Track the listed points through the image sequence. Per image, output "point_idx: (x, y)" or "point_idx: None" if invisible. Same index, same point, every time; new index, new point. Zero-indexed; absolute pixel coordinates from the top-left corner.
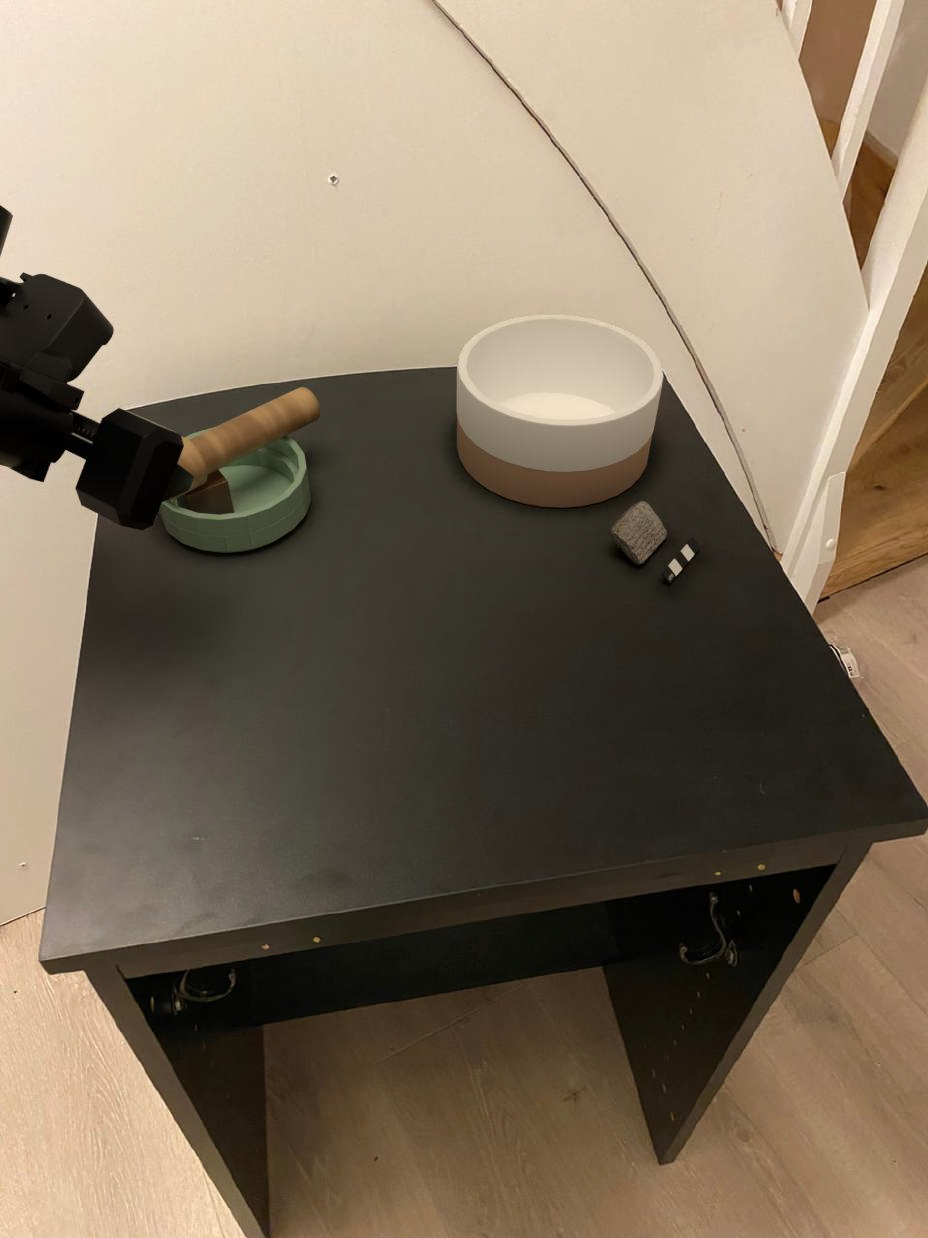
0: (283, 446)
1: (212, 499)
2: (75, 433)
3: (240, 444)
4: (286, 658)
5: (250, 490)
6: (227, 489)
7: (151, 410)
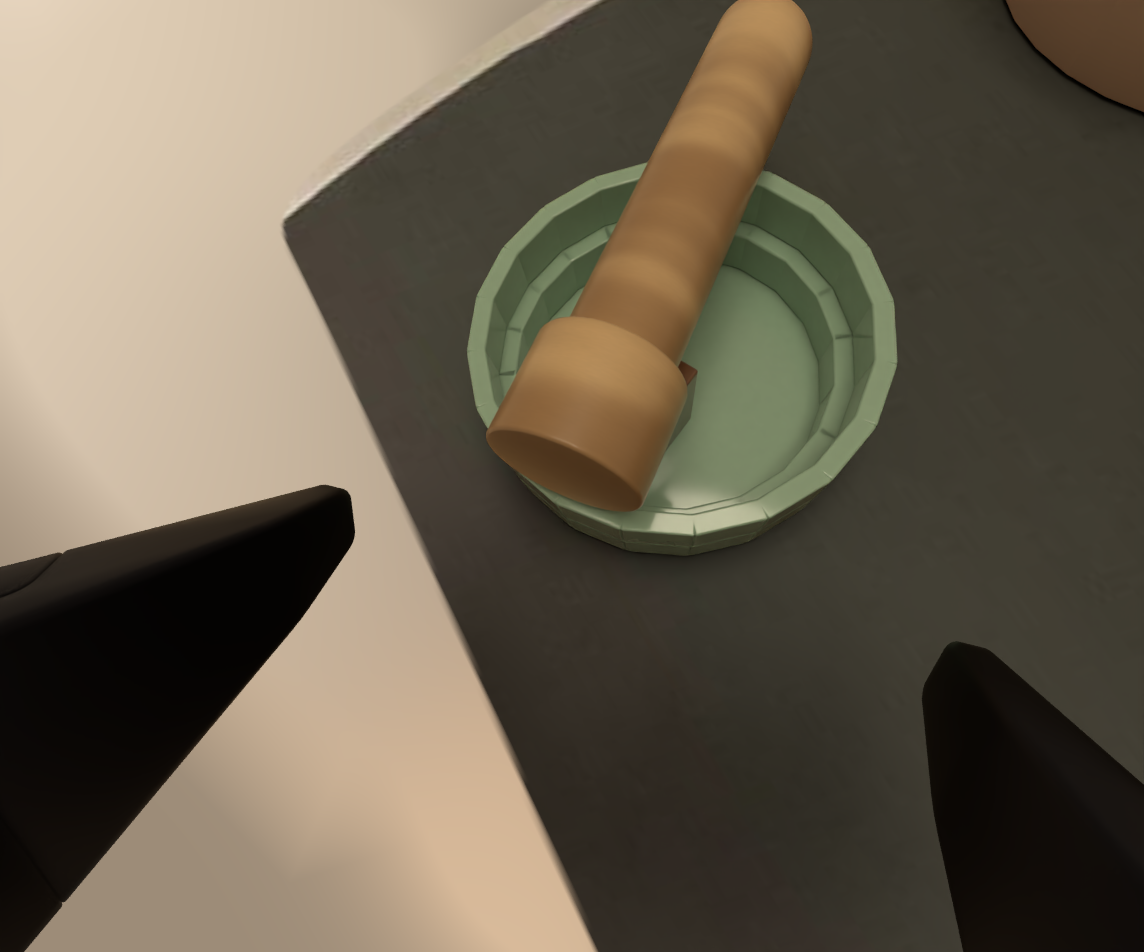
0: None
1: None
2: (261, 598)
3: (718, 256)
4: None
5: None
6: (694, 387)
7: (335, 199)
